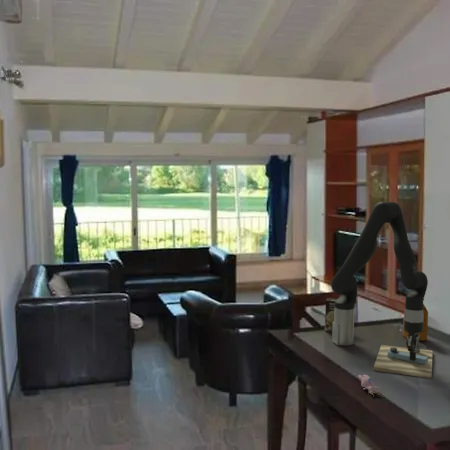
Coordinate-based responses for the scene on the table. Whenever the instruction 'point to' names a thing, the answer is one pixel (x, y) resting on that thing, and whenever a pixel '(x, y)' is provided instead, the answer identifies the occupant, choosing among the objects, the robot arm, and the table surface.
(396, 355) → the link
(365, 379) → the rabbit figure
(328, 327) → the coffee box
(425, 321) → the coffee package
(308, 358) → the table surface
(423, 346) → the block
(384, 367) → the pivot board
